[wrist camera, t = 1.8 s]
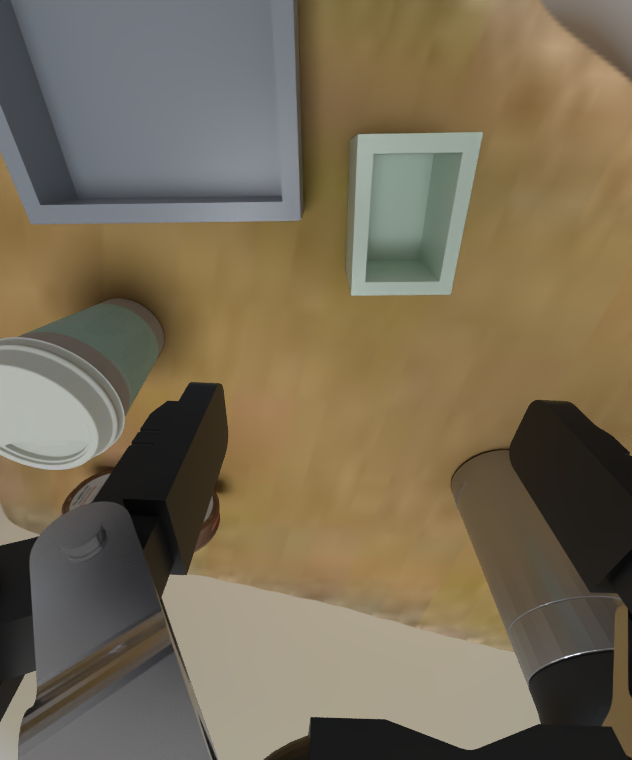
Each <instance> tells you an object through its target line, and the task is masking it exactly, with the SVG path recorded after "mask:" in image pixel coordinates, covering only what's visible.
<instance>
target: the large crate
mask: <svg viewBox="0 0 632 760" xmlns="http://www.w3.org/2000/svg"><path fill="white" fill-rule="evenodd" d="M0 152H1V154H2V156H3V159H4V161H5V163H6V166H7V168H8V171H9V173H10V175H11V178H12V180H13V182H14V185H15V187H16V189H17V192H18V194H19V197H20V199H21V201H22V204H23V206H24V208H25V211H26V213H27V216H28V218H29V220H30V223H31V224H87V223H164V222H241V221H301V218H302V215H303V213H304V193H303V159H302V125H301V91H300V57H299V23H298V0H0Z"/></svg>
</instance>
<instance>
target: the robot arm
mask: <svg viewBox="0 0 632 760" xmlns="http://www.w3.org/2000/svg"><path fill="white" fill-rule="evenodd" d="M227 444H228V425H227V416H226V408H225V399H224V390H223V386H222V384H219V383H199V382H191V383H189V384H188V386H187V388H186V389H185V391H184V393H183V395H182V396H181V398H180V400H179V401H167V402H166V403H164V404H163V405H161V406H160V407H159V408H157V409H156V410H155V411H153V412H152V413H151V414H150V415H149V417H148V418H147V420H146V421H145V423H144V424H143V426H142V427H141V429H140V432H138V433H137V435H136V436H135V438H134V439H133V441H132V445H131V446H129V447H128V448H127V450H126V451H125V453H124V454H123V456H122V457H121V459H120V461H119V462H118V464H117V465H116V467H115V468H114V470H113V471H112V473H111V474H110V476H109V477H108V479H107V480H106V482H105V483H104V485H103V486H102V488H101V489H100V491H99V492H98V494H97V495H96V497H95V498H94V500H93V501H92V502H91V503H89V504H85V505H82V506H79V507H77V508H75V509H72V510H70V511H68V512H67V513H65V514H63V515H62V516H60V517H59V518H57V519H56V520H55V521H53V522H52V523H51V524H50V525H49V526H48V527H47V528H46V529H45V530H44V531H43V532H42V533H41V534H40V536H38V537H35V538H31V539H28V540H23V541H19V542H14V543H10V544H6V545H1V546H0V721H1V719H2V718H3V715H4V714H5V712H6V710H7V708H8V706H9V704H10V702H11V700H12V698H13V696H14V695H15V693H16V691H17V689H18V687H19V685H20V683H21V681H22V679H23V677H24V675H25V674H27V673H30V672H33V671H36V677H37V695H36V700H35V703H34V705H33V707H31V708H29V709H28V710H27V711H26V713H25V714H24V717H23V719H22V723H21V727H20V733H19V744H18V760H218V758H217V755H216V752H215V749H214V746H213V743H212V740H211V738H210V735H209V732H208V729H207V726H206V723H205V721H204V718H203V715H202V712H201V709H200V707H199V704H198V701H197V698H196V696H195V693H194V690H193V687H192V684H191V681H190V678H189V676H188V673H187V670H186V667H185V664H184V661H183V658H182V656H181V652H180V650H179V646H178V644H177V641H176V638H175V635H174V632H173V629H172V626H171V623H170V620H169V618H168V615H167V612H166V609H165V606H164V603H163V600H162V594H163V591H164V588H165V586H166V583H167V580H168V577H169V575H170V574H173V575H187V572H188V569H189V566H190V563H191V560H192V557H193V554H194V551H195V547H196V544H197V541H198V538H199V535H200V532H201V529H202V526H203V522H204V519H205V516H206V513H207V510H208V507H209V504H210V501H211V497H212V494H213V491H214V488H215V485H216V482H217V479H218V476H219V473H220V469H221V466H222V463H223V460H224V457H225V454H226V450H227ZM629 454H630V452H629V451H627V450H626V449H625V448H624V447H623V446H622V445H621V444H620V443H619V442H618V441H617V440H616V439H615V438H614V437H613V436H611V435H610V434H608V433H607V432H605V431H603V430H602V429H600V428H599V427H597V426H596V425H594V424H593V423H592V422H591V421H590V420H589V419H588V418H587V417H586V416H585V415H584V414H583V413H582V412H581V411H580V410H579V409H578V408H577V407H576V406H575V405H574V404H572V403H571V402H568V401H550V400H535V401H533V402H532V403H531V404H530V405H529V407H528V409H527V411H526V413H525V415H524V417H523V419H522V421H521V423H520V425H519V427H518V429H517V431H516V434H515V436H514V438H513V440H512V442H511V444H510V448H509V450H498V451H491V452H488V453H484V454H481V455H479V456H477V457H474V458H472V459H471V460H469V461H468V462H466V463H465V464H463V465H462V466H461V467H460V468H459V469H458V470H457V472H456V473H455V474H454V476H453V479H452V482H451V489H452V493H453V496H454V498H455V502H456V505H457V507H458V509H459V511H460V514H461V516H462V519H463V521H464V524H465V527H466V529H467V532H468V534H469V537H470V540H471V542H472V545H473V547H474V550H475V552H476V555H477V557H478V560H479V562H480V565H481V568H482V570H483V573H484V575H485V578H486V580H487V583H488V585H489V588H490V590H491V593H492V596H493V598H494V601H495V603H496V606H497V608H498V611H499V613H500V616H501V618H502V621H503V624H504V626H505V629H506V631H507V634H508V636H509V639H510V641H511V644H512V646H513V649H514V651H515V654H516V656H517V659H518V662H519V664H520V667H521V669H522V672H523V674H524V677H525V679H526V682H527V684H528V687H529V690H530V693H531V695H532V698H533V701H534V703H535V706H536V708H537V711H538V714H539V718H540V722H541V724H538V725H536V726H533V727H531V728H528V729H526V730H523V731H521V732H518V733H516V734H513V735H511V736H508V737H506V738H503V739H501V740H498V741H496V742H493V743H491V744H488V745H486V746H483V747H481V748H478V749H475V750H465V749H461V748H458V747H456V746H453V745H450V744H448V743H445V742H443V741H440V740H438V739H435V738H432V737H430V736H427V735H425V734H422V733H419V732H417V731H414V730H412V729H409V728H406V727H404V726H401V725H398V724H396V723H393V722H391V721H388V720H385V719H383V720H382V719H352V718H320V717H311V719H310V726H309V734H308V736H305V737H303V738H300V739H297V740H295V741H293V742H290V743H288V744H287V745H285V746H283V747H281V748H280V749H278V750H276V751H274V752H273V753H271V754H270V755H269V756H268V757H266V758H265V759H264V760H632V456H630V455H629Z"/></svg>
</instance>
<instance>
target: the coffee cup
mask: <svg viewBox="0 0 632 760" xmlns="http://www.w3.org/2000/svg"><path fill="white" fill-rule="evenodd" d="M163 345H164V333H163V329H162V327H161V325H160V323H159V321H158V320H157V318H156V317H155V316H154V315H153V314H152V313H151V312H150V311H149V310H148V309H147V308H145V307H144V306H142V305H140V304H138V303H136V302H134V301H131V300H127V299H121V298H115V299H110V300H107V301H104V302H102V303H99V304H97V305H94V306H91V307H89V308H87V309H84V310H82V311H79V312H77V313H74V314H72V315H70V316H67V317H65V318H62V319H60V320H57V321H55V322H52V323H50V324H48V325H45V326H43V327H40V328H38V329H35V330H33V331H31V332H28V333H26V334H23V335H21V336H19V337H11V338H3V339H0V455H2V456H4V457H6V458H8V459H11V460H13V461H16V462H18V463H21V464H24V465H28V466H31V467H36V468H41V469H50V470H61V469H69V468H74V467H77V466H80V465H82V464H84V463H85V462H87V461H89V460H90V459H91V458H93V457H95V456H97V455H99V454H101V453H103V452H104V451H106V450H107V449H108V448H109V447H110V446H111V445H112V444H114V443H115V442H116V441H117V440H118V438H119V437H120V435H121V434H122V431H123V428H124V423H125V416H126V414H127V412H128V411H129V409H130V407H131V405H132V403H133V401H134V400H135V398H136V396H137V394H138V392H139V391H140V389H141V387H142V385H143V383H144V381H145V380H146V378H147V376H148V374H149V372H150V370H151V369H152V367H153V365H154V363H155V361H156V359H157V358H158V356H159V354H160V352H161V350H162V348H163Z"/></svg>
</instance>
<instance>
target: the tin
mask: <svg viewBox="0 0 632 760" xmlns="http://www.w3.org/2000/svg"><path fill="white" fill-rule="evenodd" d="M112 471H113V470H108V471H104V472H101V473H98V474H96V475H93V476H91V477H89V478H87V479H86V480H84V481H83V482H81V483H80V484H79V485H78V486H77V487H76V488H75V489H74V490H73V491H72V492H71V493H70V494H69V495H68V497H67V498H66V500H65V502H64V503H63V506H62V515H63V514H65V513H67V512H68V511H70V510H72V509H75V508H77V507H79V506H82V505H85V504H89V503H91V502H92V501H93V500H94V498H95V497H96V495H97V494H98V492H99V491H100V489H101V488H102V486H103V485H104V483H105V482H106V480H107V479H108V477H109V476H110V474H111V473H112ZM219 522H220V513H219V499H218V496H217V494H216V492H215V490H214V491H213V494H212V497H211V501H210V504H209V507H208V510H207V513H206V516H205V519H204V522H203V526H202V529H201V532H200V535H199V538H198V541H197V544H196V547H195V551H194V552H196V551H198V550H199V549H201V548H202V547H204V546H205V545H206V544H207V543H208V542H209V541H210V540H211V539H212V538H213V536H214V535H215V533H216V531H217V529H218V526H219Z"/></svg>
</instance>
